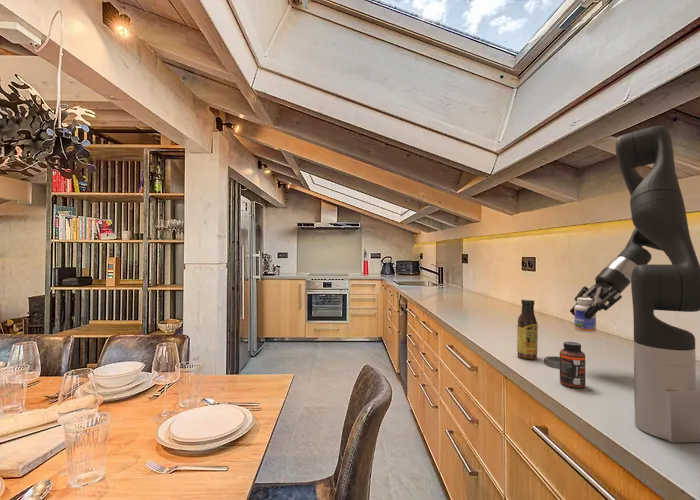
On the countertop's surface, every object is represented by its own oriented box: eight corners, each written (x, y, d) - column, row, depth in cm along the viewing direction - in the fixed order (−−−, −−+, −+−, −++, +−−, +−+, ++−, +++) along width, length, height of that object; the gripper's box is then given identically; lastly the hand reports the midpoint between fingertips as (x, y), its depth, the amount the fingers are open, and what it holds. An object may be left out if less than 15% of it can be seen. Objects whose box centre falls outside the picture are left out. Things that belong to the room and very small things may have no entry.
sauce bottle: (528, 361, 116) (528, 301, 116) (513, 356, 122) (512, 299, 122) (542, 358, 119) (541, 300, 119) (526, 354, 124) (525, 298, 125)
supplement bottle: (584, 390, 91) (584, 347, 91) (558, 385, 94) (557, 343, 94) (586, 384, 95) (586, 342, 96) (561, 379, 99) (560, 339, 99)
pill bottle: (570, 329, 108) (569, 297, 108) (587, 328, 108) (586, 297, 108) (583, 333, 102) (582, 299, 102) (600, 332, 103) (600, 299, 103)
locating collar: (579, 369, 108) (579, 363, 108) (554, 369, 108) (554, 363, 108) (563, 361, 116) (563, 356, 116) (539, 361, 116) (539, 356, 116)
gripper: (591, 265, 113) (555, 303, 112) (627, 267, 98) (586, 310, 98) (608, 282, 113) (572, 319, 112) (646, 286, 98) (605, 329, 98)
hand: (579, 315), depth 105 cm, fingers closed on pill bottle, 5 cm apart
